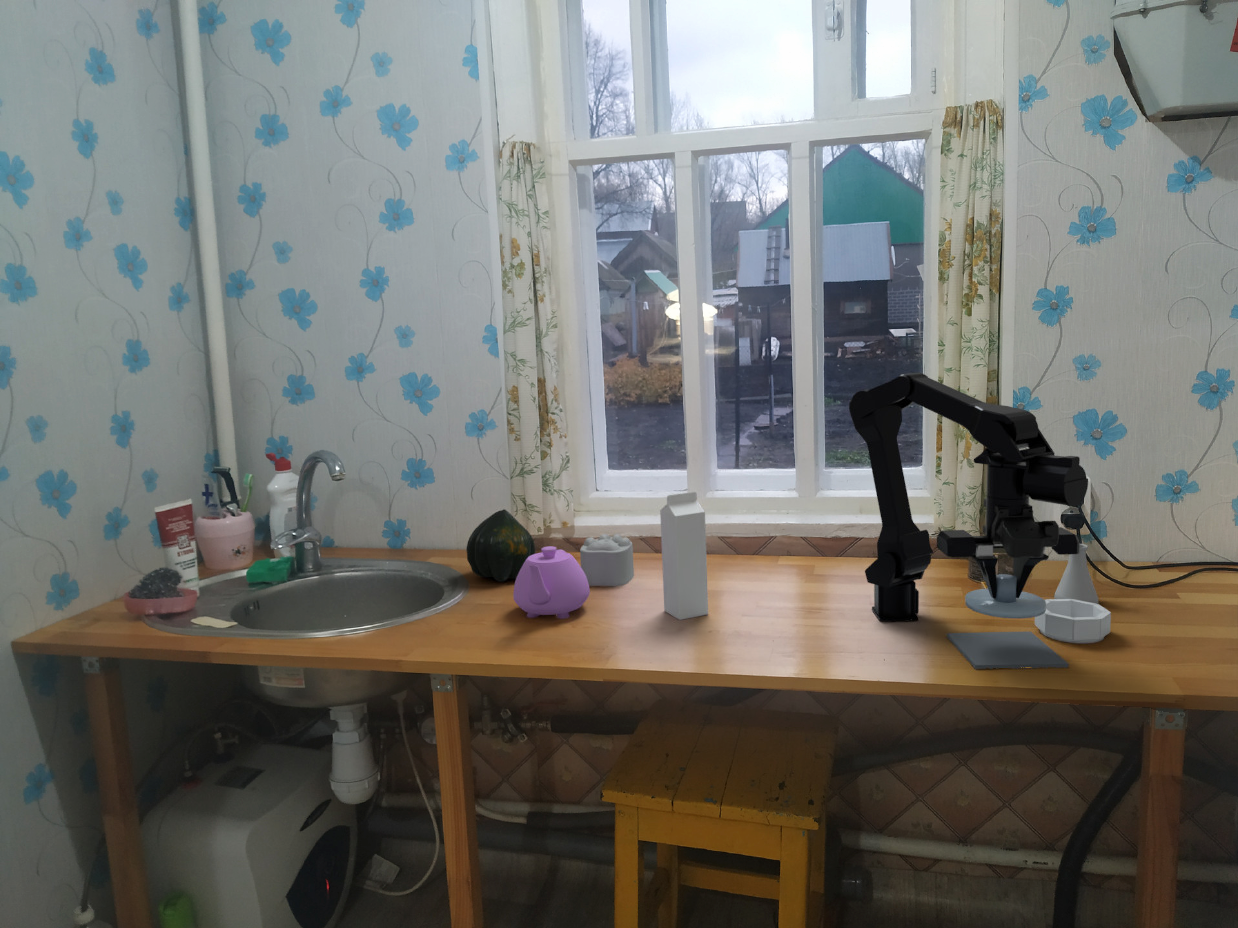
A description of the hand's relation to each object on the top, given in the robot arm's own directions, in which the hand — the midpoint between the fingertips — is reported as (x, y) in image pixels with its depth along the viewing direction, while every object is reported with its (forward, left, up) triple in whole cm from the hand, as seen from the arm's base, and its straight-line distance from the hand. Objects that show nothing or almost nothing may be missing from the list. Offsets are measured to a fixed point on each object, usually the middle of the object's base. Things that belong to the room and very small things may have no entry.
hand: (1004, 597), depth 124 cm
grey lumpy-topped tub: (-64, +45, -9) cm, 79 cm away
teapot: (-73, +23, -9) cm, 77 cm away
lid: (0, 0, -1) cm, 1 cm away
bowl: (+13, +7, -8) cm, 17 cm away
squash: (-87, +47, -9) cm, 100 cm away
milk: (-48, +21, -9) cm, 53 cm away
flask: (+21, +23, -9) cm, 32 cm away
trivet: (0, 0, -8) cm, 8 cm away
